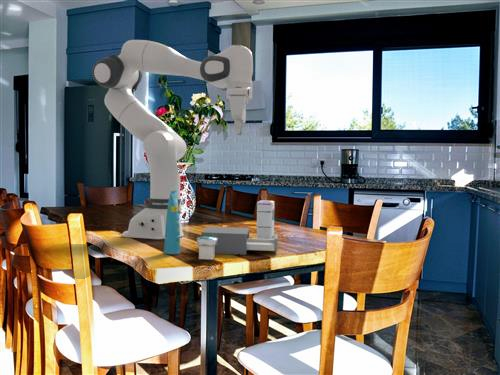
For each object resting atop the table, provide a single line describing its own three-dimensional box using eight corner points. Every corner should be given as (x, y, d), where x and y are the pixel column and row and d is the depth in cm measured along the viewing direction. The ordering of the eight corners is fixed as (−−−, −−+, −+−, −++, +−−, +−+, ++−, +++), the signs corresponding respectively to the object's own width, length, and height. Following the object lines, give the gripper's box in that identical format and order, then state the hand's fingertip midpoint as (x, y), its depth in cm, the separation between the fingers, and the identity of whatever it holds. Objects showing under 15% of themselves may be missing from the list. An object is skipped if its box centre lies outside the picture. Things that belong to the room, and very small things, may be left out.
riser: (198, 259, 131) (199, 245, 131) (201, 256, 135) (201, 242, 135) (212, 259, 131) (213, 245, 131) (214, 256, 135) (214, 243, 135)
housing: (200, 253, 140) (201, 232, 140) (207, 245, 154) (208, 226, 154) (246, 254, 139) (246, 234, 139) (248, 246, 153) (249, 228, 153)
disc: (195, 245, 130) (195, 238, 130) (198, 242, 136) (198, 235, 136) (216, 246, 130) (216, 239, 130) (218, 243, 136) (218, 236, 135)
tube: (178, 255, 135) (180, 191, 134) (162, 255, 135) (163, 190, 134) (181, 251, 143) (182, 189, 142) (165, 250, 142) (166, 189, 141)
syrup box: (271, 241, 167) (272, 201, 166) (255, 240, 168) (257, 201, 167) (274, 238, 172) (275, 200, 171) (258, 238, 173) (259, 199, 173)
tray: (235, 249, 141) (235, 237, 141) (238, 243, 152) (238, 232, 152) (277, 250, 140) (277, 238, 140) (277, 244, 151) (277, 233, 151)
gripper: (232, 98, 167) (231, 136, 167) (227, 88, 146) (226, 131, 147) (249, 98, 166) (248, 136, 167) (247, 88, 146) (246, 132, 147)
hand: (238, 134), depth 157 cm, fingers open, 8 cm apart
